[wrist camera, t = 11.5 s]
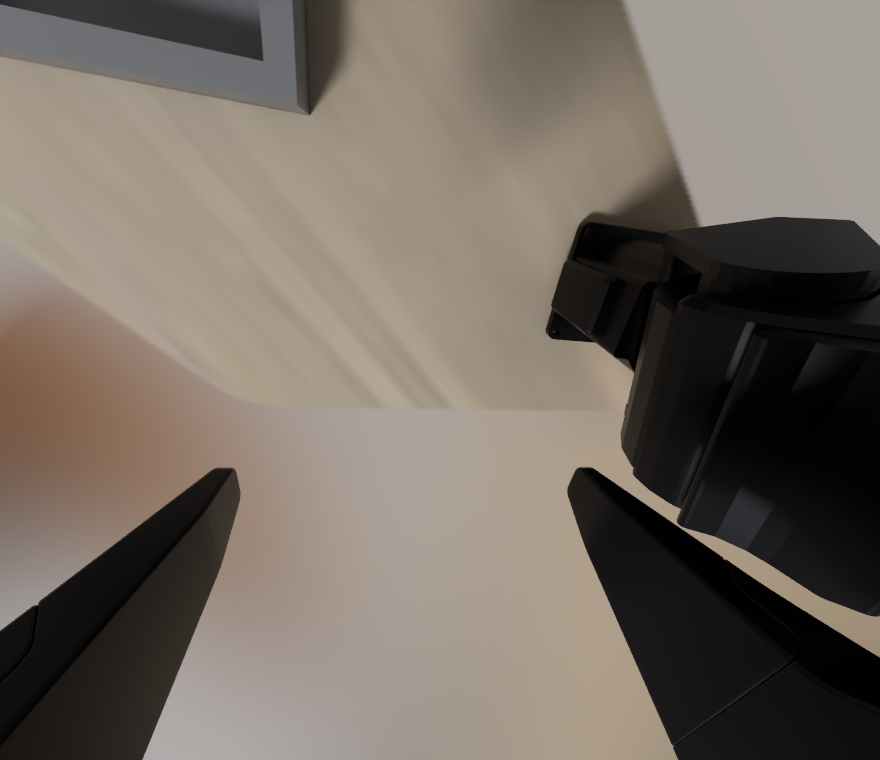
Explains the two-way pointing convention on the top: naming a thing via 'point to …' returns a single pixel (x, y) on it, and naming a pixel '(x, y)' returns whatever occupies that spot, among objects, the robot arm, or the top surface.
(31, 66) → the top surface
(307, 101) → the tray
